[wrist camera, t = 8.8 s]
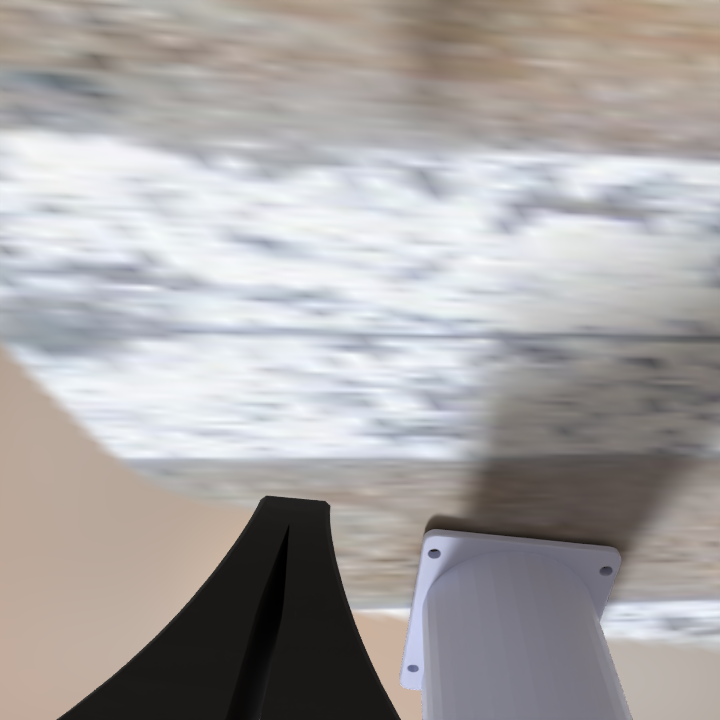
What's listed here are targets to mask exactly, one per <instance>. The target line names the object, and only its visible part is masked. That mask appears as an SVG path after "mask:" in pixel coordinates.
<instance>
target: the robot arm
mask: <svg viewBox="0 0 720 720" xmlns="http://www.w3.org/2000/svg"><path fill="white" fill-rule="evenodd" d="M431 549H437V550H438V551H436V552H432V551H430V550H431ZM621 561H622V558H621V556H620V554H619V552H618V550H617V549H616V548H614V547H609V546H600V545H590V544H580V543H570V542H560V541H550V540H540V539H530V538H520V537H510V536H500V535H491V534H481V533H471V532H461V531H451V530H441V529H432V530H430V531H428V532H426V533H425V535H424V537H423V543H422V548H421V554H420V560H419V566H418V572H417V577H416V583H415V589H414V595H413V601H412V606H411V612H410V618H409V624H408V630H407V635H406V641H405V647H404V653H403V658H402V664H401V670H400V684H401V685H402V686H403V687H404V688H406V689H412V690H421V695H422V720H633V719H632V716H631V713H630V710H629V707H628V704H627V701H626V699H625V695H624V693H623V689H622V686H621V684H620V681H619V678H618V675H617V672H616V669H615V666H614V663H613V660H612V657H611V654H610V651H609V648H608V645H607V642H606V639H605V636H604V633H603V630H602V628H601V625H600V619H601V617H602V614H603V611H604V608H605V606H606V603H607V600H608V598H609V595H610V592H611V589H612V587H613V584H614V581H615V578H616V576H617V573H618V570H619V567H620V565H621ZM606 566H608V567H607V568H605V569H601V568H603V567H606ZM57 720H401V719H400V717H399V715H398V714H397V712H396V710H395V708H394V706H393V704H392V702H391V700H390V699H389V697H388V695H387V693H386V691H385V690H384V688H383V686H382V684H381V682H380V680H379V677H378V675H377V673H376V671H375V669H374V667H373V665H372V663H371V660H370V658H369V656H368V654H367V651H366V649H365V646H364V644H363V642H362V639H361V637H360V634H359V632H358V629H357V627H356V625H355V621H354V618H353V615H352V613H351V610H350V607H349V604H348V601H347V598H346V594H345V591H344V588H343V584H342V581H341V577H340V573H339V569H338V565H337V561H336V557H335V552H334V547H333V541H332V535H331V527H330V505H329V504H328V503H327V502H326V501H318V500H308V499H297V498H286V497H276V496H265V497H264V498H262V499H261V500H260V502H259V504H258V506H257V508H256V510H255V512H254V514H253V515H252V517H251V519H250V520H249V522H248V524H247V525H246V527H245V528H244V530H243V531H242V533H241V535H240V536H239V538H238V539H237V540H236V542H235V543H234V545H233V546H232V547H231V549H230V550H229V552H228V553H227V555H226V556H225V557H224V558H223V560H222V561H221V563H220V564H219V565H218V567H217V568H216V569H215V570H214V572H213V573H212V574H211V576H210V577H209V578H208V579H207V581H205V583H204V584H203V585H202V586H201V588H200V589H199V590H198V591H197V592H196V594H195V595H194V596H193V597H192V598H191V600H190V601H189V602H188V603H187V604H186V605H185V606H184V608H183V609H182V610H181V611H180V612H179V613H178V614H177V615H176V616H175V617H174V618H173V619H172V620H171V622H169V624H168V625H167V626H166V627H165V628H164V629H163V630H162V631H161V632H160V633H159V634H158V635H157V636H156V637H155V638H154V639H153V640H152V641H150V642H149V643H148V644H147V645H146V646H145V647H144V648H143V649H142V650H141V651H140V652H139V653H138V654H137V655H136V656H134V657H133V658H132V659H131V660H130V661H129V662H128V663H127V664H126V665H125V666H123V667H122V668H121V669H120V670H119V671H118V672H117V673H115V674H114V675H113V676H112V677H111V678H109V679H108V680H107V681H106V682H104V683H103V684H102V685H101V686H99V687H98V688H97V689H96V690H94V691H93V692H92V693H91V694H89V695H88V696H87V697H86V698H84V699H83V700H82V701H81V702H79V703H78V704H77V705H76V706H74V707H73V708H72V709H71V710H69V711H68V712H66V713H65V714H64V715H62V716H61V717H60V718H58V719H57Z"/></svg>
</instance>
